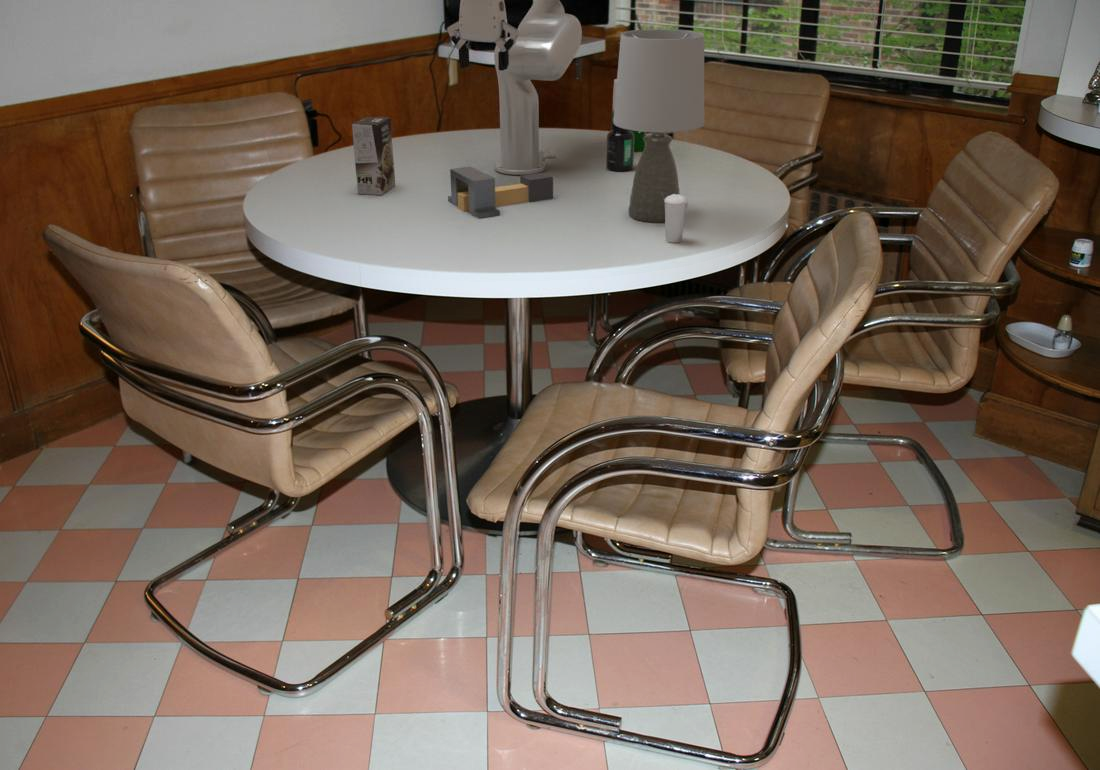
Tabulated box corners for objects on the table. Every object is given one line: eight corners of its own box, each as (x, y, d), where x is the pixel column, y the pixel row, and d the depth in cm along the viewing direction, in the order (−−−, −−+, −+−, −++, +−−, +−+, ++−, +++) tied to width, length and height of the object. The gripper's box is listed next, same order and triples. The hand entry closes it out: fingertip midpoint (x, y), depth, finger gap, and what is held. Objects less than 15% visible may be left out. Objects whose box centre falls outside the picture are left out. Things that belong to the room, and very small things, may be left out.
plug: (543, 193, 228) (543, 172, 226) (553, 198, 225) (553, 176, 222) (456, 207, 218) (455, 185, 216) (465, 212, 215) (464, 189, 213)
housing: (468, 197, 225) (466, 164, 222) (500, 215, 213) (499, 180, 209) (448, 200, 223) (446, 167, 220) (479, 218, 211) (477, 183, 207)
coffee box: (383, 195, 227) (377, 124, 220) (356, 194, 228) (350, 123, 221) (396, 185, 235) (391, 116, 228) (371, 184, 236) (365, 115, 229)
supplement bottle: (634, 172, 246) (635, 123, 240) (606, 172, 246) (607, 123, 241) (632, 165, 252) (634, 117, 247) (605, 165, 252) (606, 117, 247)
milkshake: (656, 237, 198) (658, 188, 194) (682, 236, 199) (685, 187, 194) (660, 244, 194) (662, 194, 190) (687, 243, 195) (690, 193, 190)
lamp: (715, 215, 212) (728, 33, 196) (659, 234, 200) (668, 42, 184) (649, 198, 224) (656, 26, 208) (593, 215, 212) (595, 34, 196)
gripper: (524, -14, 214) (525, 68, 222) (454, -16, 220) (458, 63, 228) (509, -12, 208) (511, 73, 216) (437, -14, 214) (441, 68, 222)
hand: (483, 68), depth 222 cm, fingers open, 9 cm apart
